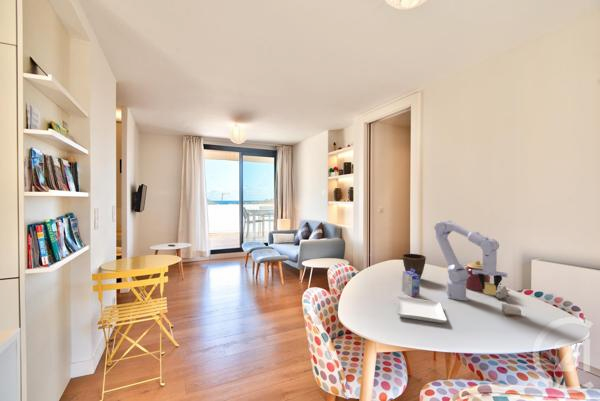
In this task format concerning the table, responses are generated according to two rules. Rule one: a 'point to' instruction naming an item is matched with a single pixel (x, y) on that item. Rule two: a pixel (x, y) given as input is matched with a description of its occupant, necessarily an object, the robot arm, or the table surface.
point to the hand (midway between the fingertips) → (489, 289)
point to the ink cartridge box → (411, 283)
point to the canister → (475, 277)
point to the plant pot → (414, 263)
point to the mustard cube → (489, 288)
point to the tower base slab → (511, 315)
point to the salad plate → (420, 309)
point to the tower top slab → (511, 309)
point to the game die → (501, 292)
